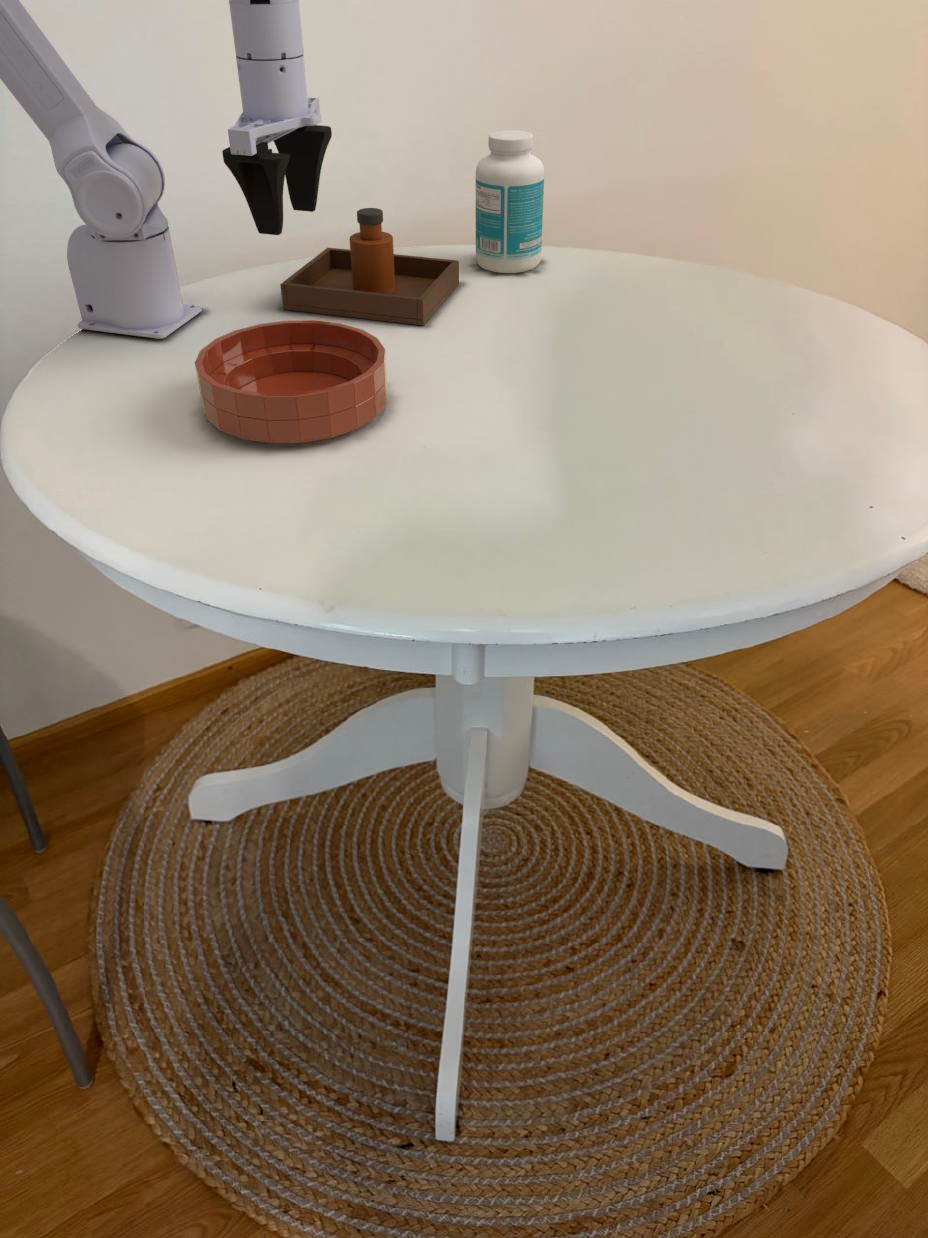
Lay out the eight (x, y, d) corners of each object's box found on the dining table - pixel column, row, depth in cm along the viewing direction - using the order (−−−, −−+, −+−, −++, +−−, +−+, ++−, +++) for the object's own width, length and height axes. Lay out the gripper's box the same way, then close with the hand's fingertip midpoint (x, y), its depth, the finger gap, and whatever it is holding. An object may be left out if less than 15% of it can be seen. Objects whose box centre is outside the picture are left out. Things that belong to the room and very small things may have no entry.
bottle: (346, 295, 99) (340, 215, 94) (362, 281, 102) (357, 203, 97) (386, 300, 98) (382, 219, 93) (401, 286, 101) (397, 206, 96)
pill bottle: (541, 255, 111) (548, 127, 103) (539, 276, 105) (546, 143, 97) (477, 252, 112) (479, 125, 103) (472, 274, 106) (472, 141, 98)
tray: (282, 309, 98) (279, 283, 96) (329, 270, 107) (327, 247, 105) (423, 325, 94) (422, 299, 93) (459, 284, 103) (459, 260, 102)
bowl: (170, 434, 76) (159, 382, 74) (255, 360, 88) (248, 312, 85) (347, 461, 73) (342, 407, 70) (411, 380, 84) (410, 331, 82)
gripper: (275, 71, 75) (294, 248, 83) (345, 44, 86) (356, 203, 94) (195, 67, 77) (222, 241, 85) (274, 41, 87) (290, 197, 96)
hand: (287, 221), depth 90 cm, fingers open, 7 cm apart
